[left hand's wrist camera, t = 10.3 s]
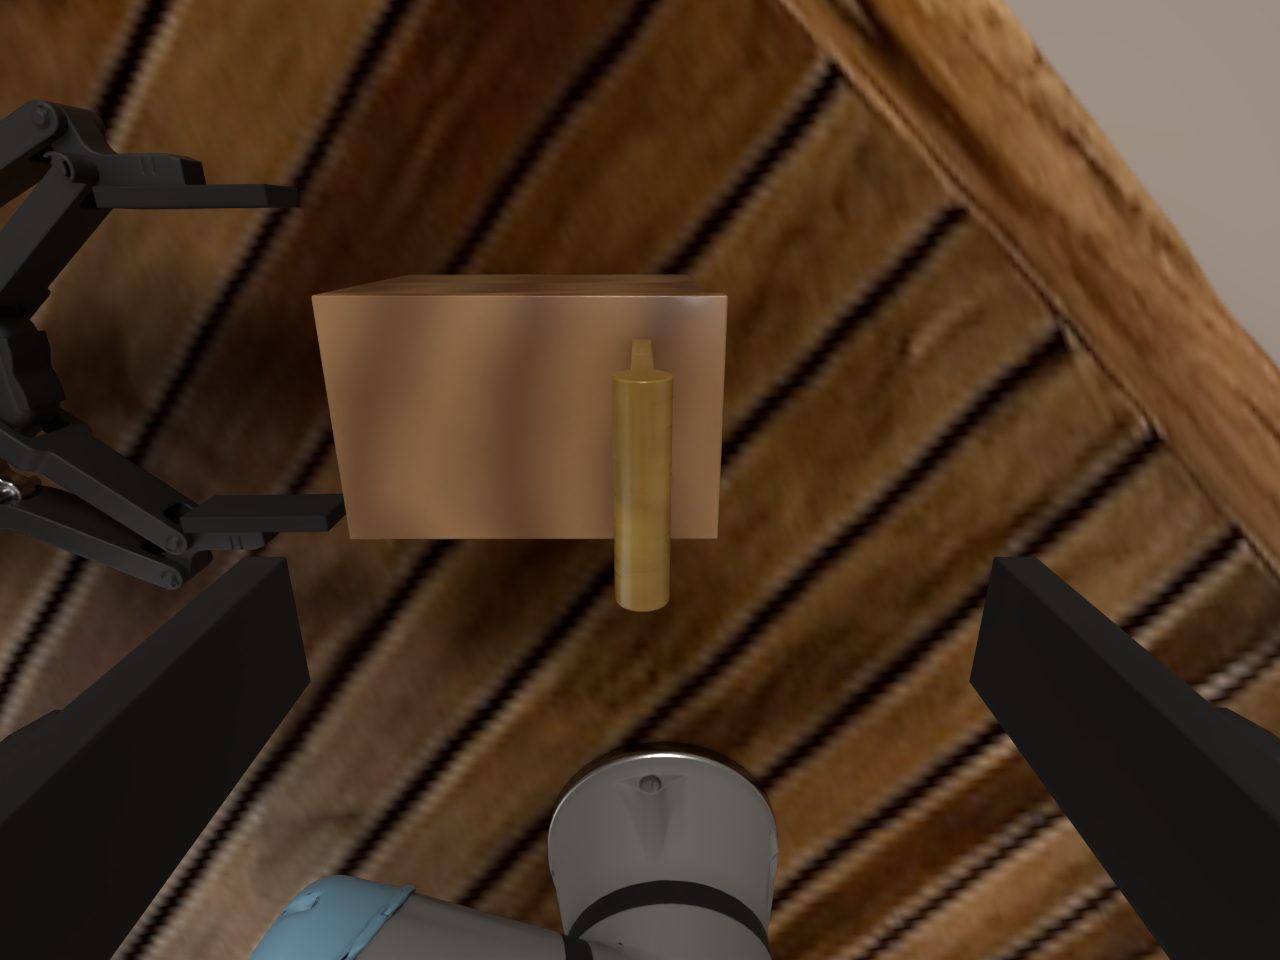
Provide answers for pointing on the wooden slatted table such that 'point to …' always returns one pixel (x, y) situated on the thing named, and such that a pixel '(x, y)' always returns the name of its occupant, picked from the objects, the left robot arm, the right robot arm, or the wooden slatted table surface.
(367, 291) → the chest
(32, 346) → the right robot arm
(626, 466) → the panel with bar handle
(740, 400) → the wooden slatted table surface
